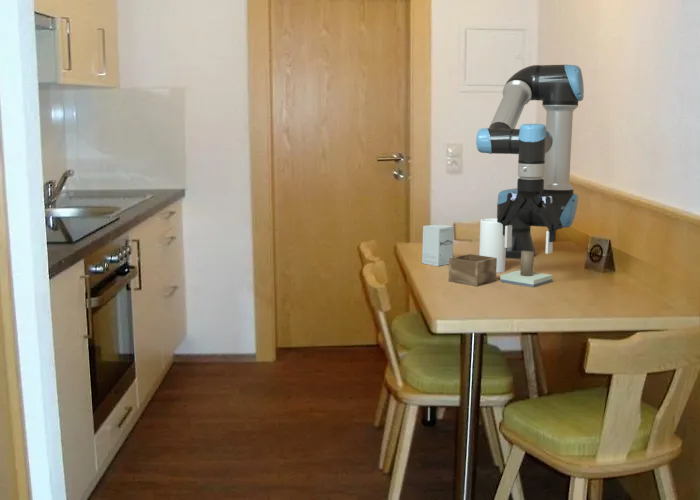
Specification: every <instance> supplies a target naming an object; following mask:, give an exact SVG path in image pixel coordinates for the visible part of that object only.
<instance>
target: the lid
mask: <svg viewBox="0 0 700 500" xmlns="http://www.w3.org/2000/svg"><path fill="white" fill-rule="evenodd" d="M534 257H535V255H534V252H533V251H521V258H520V269H519V270H514V271H511V272H507V273H504V274H501V275H500V279H502V280H508V281H514V282H520V283H527V284H533V285H534V284H537V283H541V282H544V281H547V280H551V279H552V280H553V274H549V273H542V272H541V273H540V272H537V271H536V272H534V260H535V259H534Z"/></svg>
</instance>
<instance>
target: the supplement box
mask: <svg viewBox="0 0 700 500" xmlns="http://www.w3.org/2000/svg"><path fill="white" fill-rule="evenodd" d="M454 230H455V229H454V226H453V225H447V224H429V225H423V226H422V253H421V254H422V255H421V257H422V258H421V263H422V264H425V265H427V266H428V265H429V266H434V267H440V266H441V267H442V266H446V265H449V258H452V257H454V255H453V254H454Z"/></svg>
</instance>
